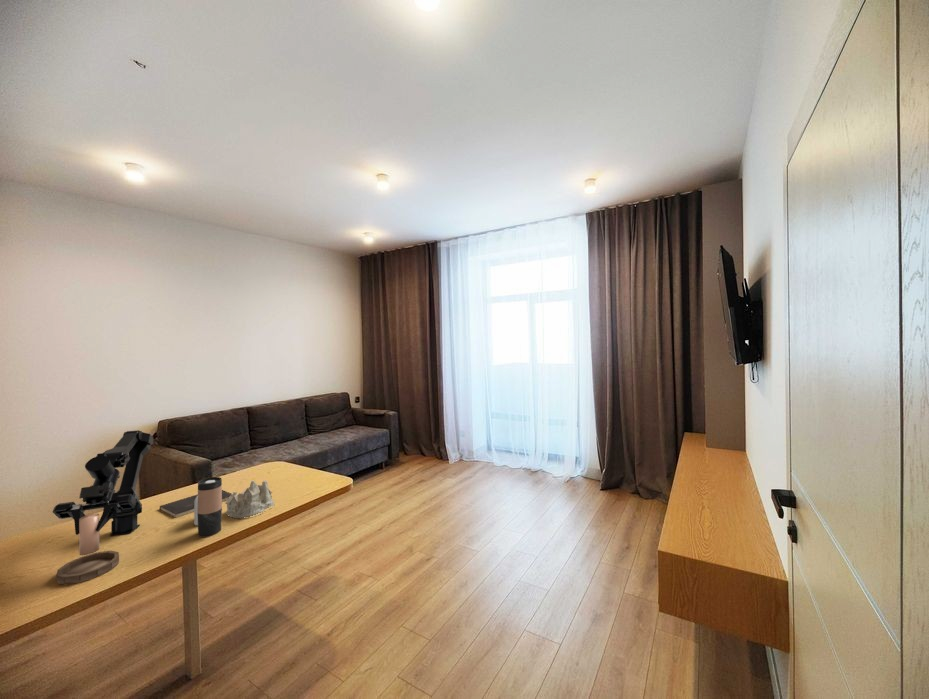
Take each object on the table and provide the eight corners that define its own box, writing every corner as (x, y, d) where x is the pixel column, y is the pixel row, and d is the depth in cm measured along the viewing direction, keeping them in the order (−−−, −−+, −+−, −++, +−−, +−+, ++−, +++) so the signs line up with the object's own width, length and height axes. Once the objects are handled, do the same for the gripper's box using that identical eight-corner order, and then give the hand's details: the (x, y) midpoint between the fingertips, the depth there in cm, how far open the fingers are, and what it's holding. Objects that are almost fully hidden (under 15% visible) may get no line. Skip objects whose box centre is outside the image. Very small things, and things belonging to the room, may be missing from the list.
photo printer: (205, 514, 150) (205, 485, 150) (217, 513, 151) (217, 485, 151) (192, 526, 140) (192, 495, 140) (204, 525, 141) (204, 494, 141)
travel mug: (226, 527, 140) (226, 476, 140) (213, 537, 132) (213, 484, 132) (206, 527, 140) (206, 477, 140) (192, 537, 132) (192, 484, 132)
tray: (128, 555, 120) (128, 548, 120) (100, 580, 107) (100, 572, 107) (79, 561, 117) (79, 554, 117) (43, 588, 104) (43, 579, 104)
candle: (103, 547, 114) (103, 513, 114) (87, 555, 110) (87, 520, 110) (90, 547, 114) (90, 513, 114) (75, 555, 110) (75, 520, 110)
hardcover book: (234, 499, 167) (234, 494, 167) (175, 519, 147) (175, 513, 147) (217, 492, 175) (217, 487, 175) (159, 510, 155) (159, 505, 155)
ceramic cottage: (280, 505, 160) (277, 472, 159) (245, 522, 144) (242, 486, 144) (256, 501, 165) (253, 469, 165) (220, 518, 150) (218, 483, 150)
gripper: (56, 478, 112) (32, 529, 102) (133, 470, 120) (118, 516, 110) (70, 494, 119) (49, 543, 109) (141, 485, 127) (128, 529, 117)
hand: (87, 532), depth 111 cm, fingers closed on candle, 4 cm apart
